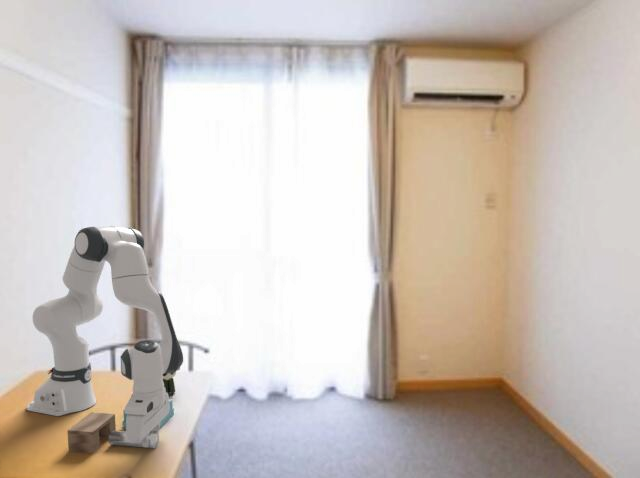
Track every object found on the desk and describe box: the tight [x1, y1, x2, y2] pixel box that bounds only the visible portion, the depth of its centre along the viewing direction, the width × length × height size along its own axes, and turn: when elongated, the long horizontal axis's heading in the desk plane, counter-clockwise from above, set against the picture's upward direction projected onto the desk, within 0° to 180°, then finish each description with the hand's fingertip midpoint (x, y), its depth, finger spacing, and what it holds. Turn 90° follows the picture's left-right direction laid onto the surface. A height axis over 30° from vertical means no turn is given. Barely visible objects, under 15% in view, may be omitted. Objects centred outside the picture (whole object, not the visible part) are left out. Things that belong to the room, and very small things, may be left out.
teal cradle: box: [122, 399, 175, 430], centre depth 173 cm, size 12×12×6 cm
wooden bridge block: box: [66, 412, 117, 454], centre depth 159 cm, size 8×12×6 cm, turn 171°
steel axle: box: [108, 430, 160, 449], centre depth 157 cm, size 14×4×4 cm, turn 81°
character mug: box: [162, 367, 181, 396], centre depth 195 cm, size 11×7×13 cm, turn 124°
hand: (150, 441), depth 156 cm, fingers closed on steel axle, 4 cm apart
